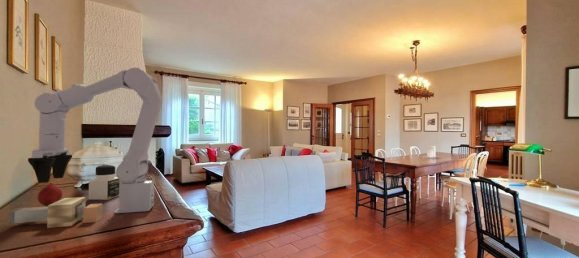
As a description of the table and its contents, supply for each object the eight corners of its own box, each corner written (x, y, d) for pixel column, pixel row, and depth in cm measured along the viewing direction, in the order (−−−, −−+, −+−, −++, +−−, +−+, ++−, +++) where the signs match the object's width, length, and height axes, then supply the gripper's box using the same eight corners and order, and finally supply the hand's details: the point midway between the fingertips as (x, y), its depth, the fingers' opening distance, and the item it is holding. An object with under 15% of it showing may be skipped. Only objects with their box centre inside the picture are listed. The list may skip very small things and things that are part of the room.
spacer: (89, 218, 73) (102, 217, 74) (83, 223, 69) (96, 222, 70) (90, 204, 73) (102, 203, 74) (83, 208, 69) (96, 207, 70)
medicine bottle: (107, 200, 93) (108, 166, 93) (88, 199, 93) (88, 166, 93) (120, 195, 100) (121, 164, 100) (102, 195, 100) (103, 164, 100)
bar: (85, 215, 72) (85, 203, 72) (80, 218, 69) (80, 206, 69) (18, 219, 68) (19, 207, 68) (9, 224, 65) (10, 211, 65)
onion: (46, 210, 80) (47, 184, 80) (32, 209, 81) (33, 183, 81) (66, 205, 85) (67, 181, 86) (52, 204, 87) (53, 180, 87)
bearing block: (85, 216, 74) (85, 196, 74) (71, 225, 67) (71, 204, 67) (64, 218, 73) (64, 198, 73) (47, 227, 65) (47, 205, 65)
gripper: (50, 134, 83) (49, 176, 83) (18, 134, 69) (17, 185, 69) (76, 134, 85) (75, 175, 85) (50, 134, 71) (49, 184, 71)
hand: (51, 180), depth 77 cm, fingers open, 7 cm apart
